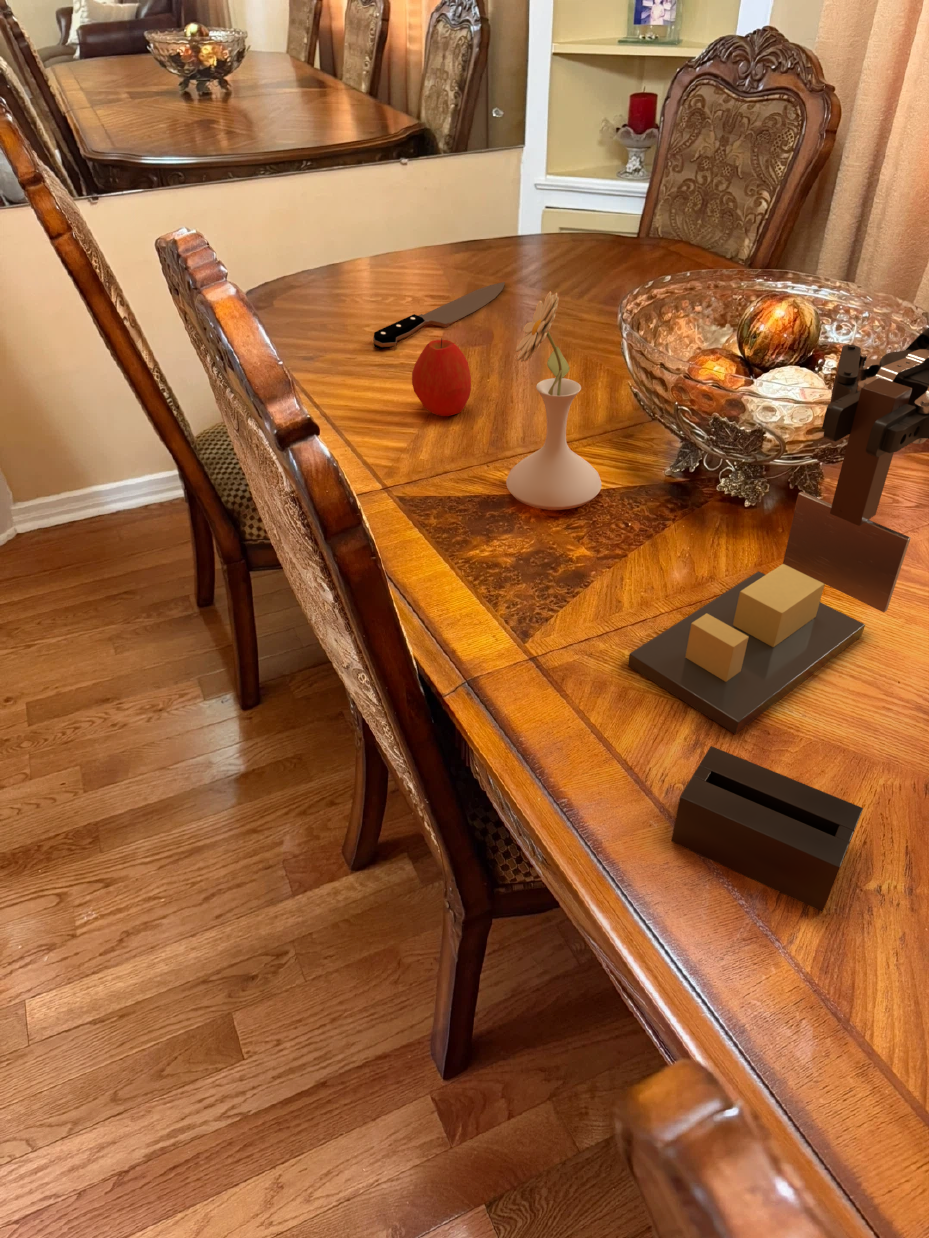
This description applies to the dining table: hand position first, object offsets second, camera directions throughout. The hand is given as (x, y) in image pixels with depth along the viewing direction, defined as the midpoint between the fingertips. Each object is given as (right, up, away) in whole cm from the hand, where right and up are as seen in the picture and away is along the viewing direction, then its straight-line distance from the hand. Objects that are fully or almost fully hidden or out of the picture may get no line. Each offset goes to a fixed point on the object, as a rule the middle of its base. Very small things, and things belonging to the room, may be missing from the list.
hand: (853, 432), depth 53 cm
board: (+3, -14, +30) cm, 34 cm away
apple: (-26, +18, +74) cm, 80 cm away
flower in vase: (-13, +3, +54) cm, 55 cm away
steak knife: (-27, +43, +106) cm, 117 cm away
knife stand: (-2, -28, +13) cm, 31 cm away
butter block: (+6, -11, +32) cm, 34 cm away
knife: (+3, -9, +10) cm, 13 cm away
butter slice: (-1, -15, +27) cm, 31 cm away
